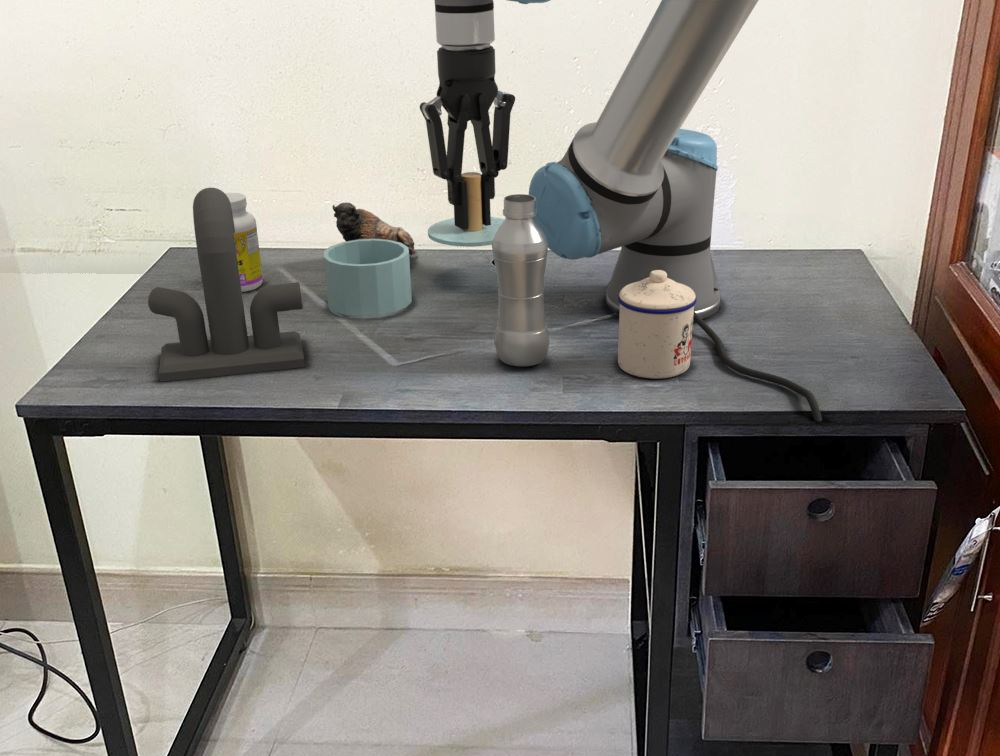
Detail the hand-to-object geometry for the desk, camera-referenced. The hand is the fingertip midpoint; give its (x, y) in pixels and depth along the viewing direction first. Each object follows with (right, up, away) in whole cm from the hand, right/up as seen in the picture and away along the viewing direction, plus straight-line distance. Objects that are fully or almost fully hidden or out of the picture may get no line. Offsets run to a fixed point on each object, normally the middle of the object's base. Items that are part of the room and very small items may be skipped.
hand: (472, 224), depth 160 cm
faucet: (-30, -20, -15) cm, 39 cm away
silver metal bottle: (+6, -22, -20) cm, 30 cm away
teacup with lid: (+23, -22, -20) cm, 37 cm away
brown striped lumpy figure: (-14, -4, +11) cm, 18 cm away
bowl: (-14, -11, -2) cm, 18 cm away
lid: (0, -1, +1) cm, 1 cm away
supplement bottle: (-34, -8, +6) cm, 35 cm away
